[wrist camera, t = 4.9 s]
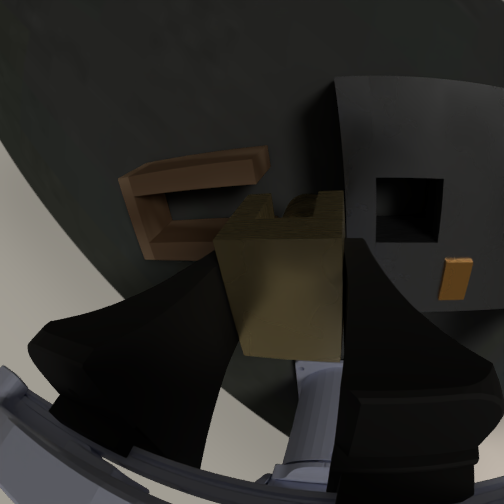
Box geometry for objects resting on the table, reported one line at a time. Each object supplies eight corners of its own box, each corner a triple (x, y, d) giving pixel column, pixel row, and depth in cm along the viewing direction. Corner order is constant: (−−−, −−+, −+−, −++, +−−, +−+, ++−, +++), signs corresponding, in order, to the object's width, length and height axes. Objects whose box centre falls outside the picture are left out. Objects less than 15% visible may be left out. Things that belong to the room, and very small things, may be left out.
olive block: (347, 259, 14) (339, 362, 9) (280, 259, 15) (243, 355, 10) (343, 167, 12) (341, 238, 7) (267, 171, 13) (212, 240, 8)
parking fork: (280, 234, 18) (269, 261, 16) (167, 236, 21) (145, 259, 18) (267, 145, 16) (252, 159, 13) (146, 163, 18) (117, 178, 16)
